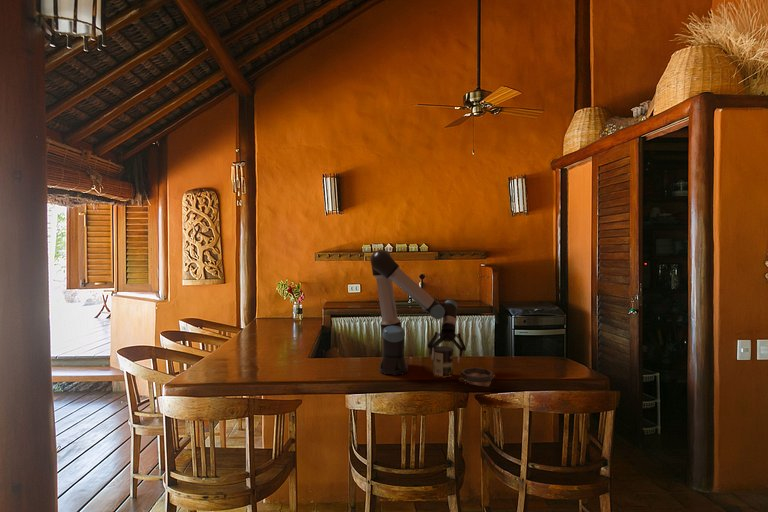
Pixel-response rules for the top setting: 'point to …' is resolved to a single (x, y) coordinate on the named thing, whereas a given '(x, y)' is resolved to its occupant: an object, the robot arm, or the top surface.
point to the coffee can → (443, 361)
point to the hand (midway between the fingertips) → (445, 360)
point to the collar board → (477, 376)
